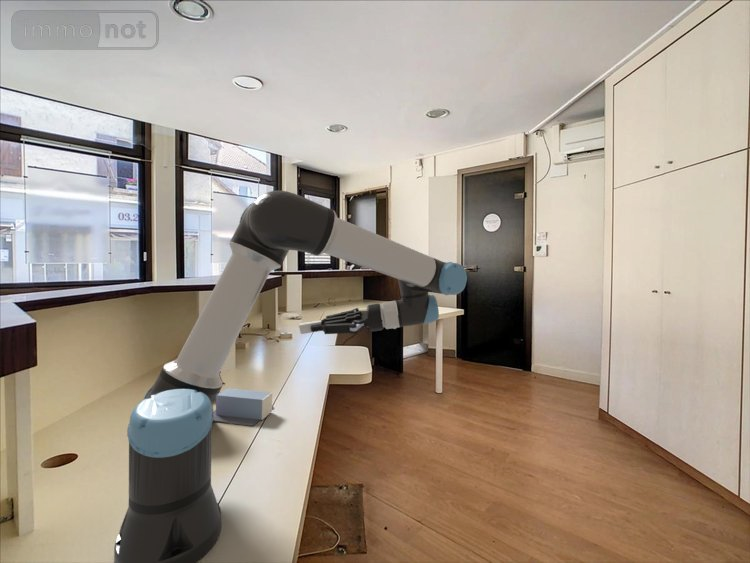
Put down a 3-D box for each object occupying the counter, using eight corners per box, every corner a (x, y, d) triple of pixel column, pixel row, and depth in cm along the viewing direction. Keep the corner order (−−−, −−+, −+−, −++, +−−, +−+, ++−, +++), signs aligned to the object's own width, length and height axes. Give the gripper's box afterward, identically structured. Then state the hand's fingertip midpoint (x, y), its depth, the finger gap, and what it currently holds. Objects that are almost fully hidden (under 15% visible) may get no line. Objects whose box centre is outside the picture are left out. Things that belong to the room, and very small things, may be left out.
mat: (253, 426, 96) (253, 424, 96) (201, 420, 99) (201, 419, 99) (273, 407, 109) (273, 406, 109) (227, 403, 111) (227, 401, 111)
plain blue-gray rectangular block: (263, 399, 99) (216, 395, 101) (262, 419, 99) (215, 414, 102) (272, 392, 105) (227, 388, 107) (271, 411, 105) (227, 406, 108)
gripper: (385, 338, 89) (298, 351, 91) (384, 319, 102) (307, 331, 103) (380, 312, 87) (291, 325, 89) (380, 296, 100) (302, 308, 101)
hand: (300, 328), depth 96 cm, fingers closed
